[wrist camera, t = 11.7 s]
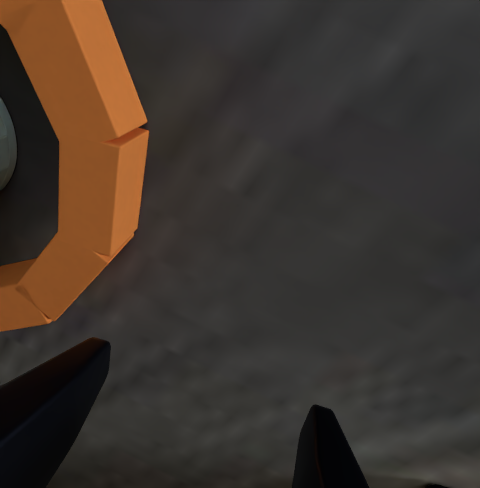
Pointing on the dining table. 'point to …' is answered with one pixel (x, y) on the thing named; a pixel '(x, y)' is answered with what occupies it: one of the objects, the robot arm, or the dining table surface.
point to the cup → (6, 146)
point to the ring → (77, 152)
